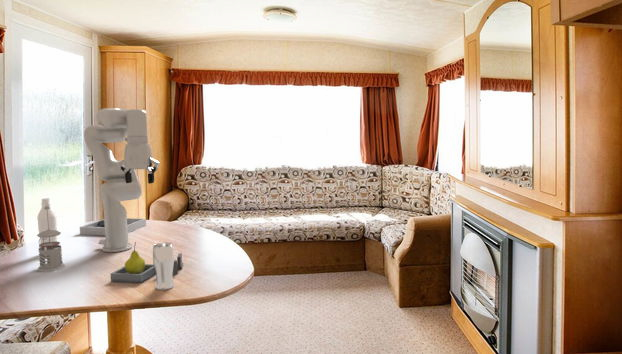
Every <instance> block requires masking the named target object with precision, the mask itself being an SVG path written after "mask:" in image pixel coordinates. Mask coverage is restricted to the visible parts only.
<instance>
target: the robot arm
mask: <svg viewBox="0 0 622 354" xmlns="http://www.w3.org/2000/svg"><path fill="white" fill-rule="evenodd" d="M147 118H148V117H147V112H146V110H144V109H135V108H134V109H126V108H117V107H115V108H114V107H113V108H110V107H108V108H107V107H105V108H101V109H100V110H98V111H97V113H96V115H95V119H96V121H97V123H98V124H92V125H89V126H87V127H85V129H84V131H83V137H84V142H85V146H86V147H87V149H88V150H89V153H90V154H91V155H92V157H93V161H94V164H95V167H96V170H97V175H98V176H99V178H100V180H101V181H102V182H104V183H102V184H101V185H100V187H99V193H100V197H101V202H102V207H103V219H104V224H105V235H104V237H105V239H103V238H102V239H101V238H100V239H99V241H98V245H103V246H102V248H101V249H102V251H103V252H106V253H118V252H124V251H129V250H130V249H132V248H133V244H132V243H129V235H128V234H129V233H128V229H127V218H128V215H127V214H128V213H127V208H126V207H125V206H124V205H123V204H122V203H121V202H124V201H132V200H134V201H135V200H137V199H140V198H141V196H142V193H143V191H142V186H141V183H140V179H139V177H138V173H137V170H146V171H147V172H148V174H147V183H148V184H153V183H154V182H155V173H156V171H157V170H158V168H159V166H160V164H161V163H160V162H159V161H158V160H156V159H154V158H153V155H152V149H151V145H150V144H149V140H148V139H149V138H148V121H147ZM124 141H125V142H127V143H126V144H125V146H124V151H123V152H124V155H123V160H117V159H116V158H115V156H114V153H113V151H112V150H111V149H110V148H109V147H107V146H106V145H105V143H107V144H109V143H110V144H112V143H123V142H124ZM153 165H154V166H153Z"/></svg>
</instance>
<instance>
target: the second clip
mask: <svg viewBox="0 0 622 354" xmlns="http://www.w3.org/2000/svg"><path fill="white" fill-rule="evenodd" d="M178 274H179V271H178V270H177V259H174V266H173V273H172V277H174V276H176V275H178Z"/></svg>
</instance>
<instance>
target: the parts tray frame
mask: <svg viewBox="0 0 622 354" xmlns="http://www.w3.org/2000/svg"><path fill="white" fill-rule="evenodd" d="M101 220H104V218H103V219H100V220H97V221H94V222H91V223H88V224H84V225H81V226H79V235H89V236H90V235H91V236H105V227H98V225H97V224H98V222H99V221H101ZM145 226H147V218H135V217H133V218H131V217H127V229H128V234H129V233H132V232H134V231H136V229H137V230H139V229H141V228H145ZM131 231H132V232H131Z"/></svg>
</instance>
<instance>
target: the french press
mask: <svg viewBox="0 0 622 354" xmlns="http://www.w3.org/2000/svg"><path fill="white" fill-rule="evenodd" d="M44 209H50V207H49V206H45V207H44ZM47 219H48V210H47ZM61 234H62V233H61V231H59V230H57V231H56V230H49V223H48V230H46V231H43V232H41V233H39V232H38V234H37V235H36V236H37V237H38V238H39V240H38V247H39V248H38V259H39V260H38V261H39V266H38V268H36V270H37V271H38V272H52V271H57V270H61V269H63V268H65V267H66V264H64V263H63V252H62V246H61V245H60V244H61V242H60V241H57V242H50V237H54V236H57V237H58V236H60V235H61ZM41 237H44V238H45V237H46V239H47V237H49V242H47V243H44V240H46V239H42V240H43V243H42V244H40V238H41ZM40 247H41V248H40ZM45 247H46V250H45ZM55 248H57V249H55Z"/></svg>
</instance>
